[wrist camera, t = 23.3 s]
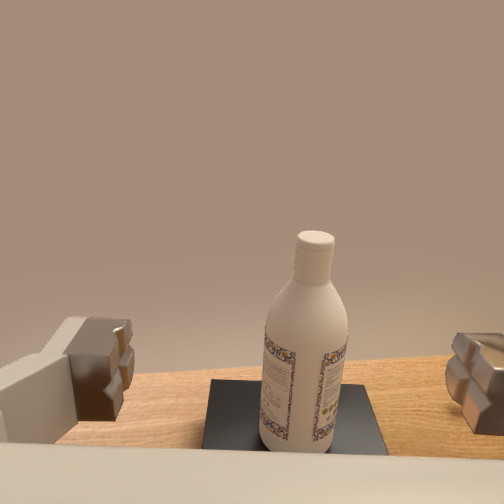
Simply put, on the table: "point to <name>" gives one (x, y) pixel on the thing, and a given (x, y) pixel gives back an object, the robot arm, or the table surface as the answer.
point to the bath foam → (304, 353)
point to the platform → (248, 418)
